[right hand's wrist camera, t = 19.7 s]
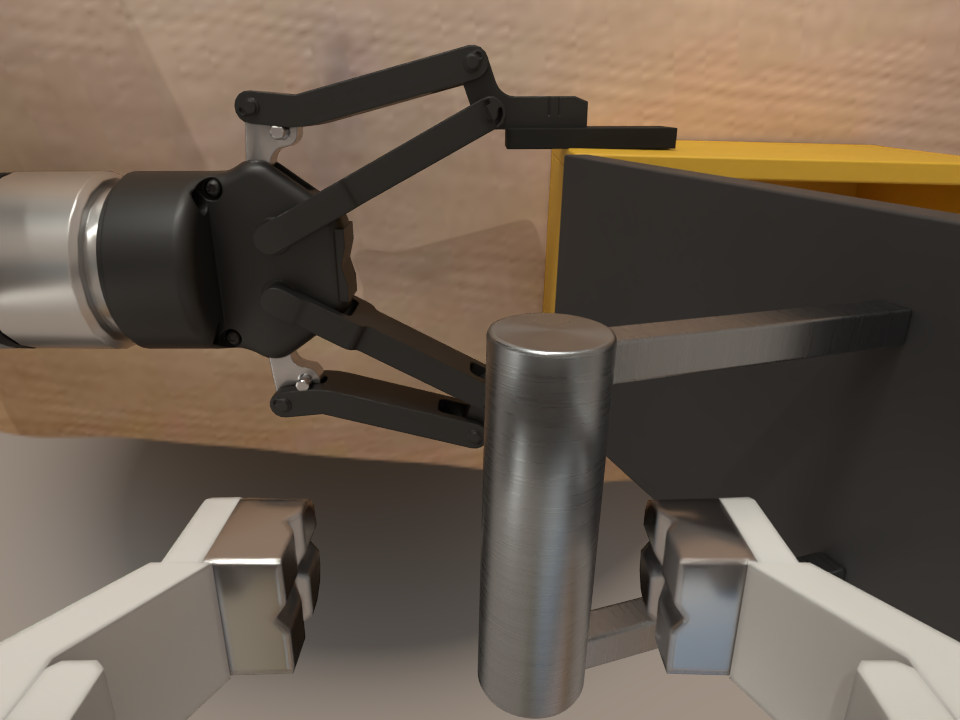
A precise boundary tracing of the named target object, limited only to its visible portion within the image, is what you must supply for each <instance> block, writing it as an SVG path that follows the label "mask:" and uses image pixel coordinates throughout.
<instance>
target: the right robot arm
mask: <svg viewBox="0 0 960 720" xmlns="http://www.w3.org/2000/svg"><path fill="white" fill-rule="evenodd" d="M315 527H316V517H315V510H314V505H313V503H312V501H311V499H286V498H241V497H223V498H210V499H206V500H205V501H204V502H203V503H202V505H201V506H200V508H199V509H198V510H197V512H196V513H195V515H194V516H193V517H192V519H191V520H190V522H189V523H188V525H187V526H186V527H185V529H184V530H183V532H182V533H181V534H180V536H179V537H178V539H177V540H176V542H175V543H174V544H173V546H172V547H171V549H170V550H169V552H168V553H167V554H166V556H165V557H164V559H163V560H162V561H161V562H160V563H148V564H147V565H145V566H143V567H141V568H139V569H137V570H135V571H133V572H131V573H130V574H128V575H126V576H124V577H122V578H120V579H118V580H116V581H115V582H113V583H111V584H109V585H107V586H105V587H103V588H101V589H99V590H98V591H96V592H94V593H92V594H90V595H88V596H86V597H84V598H82V599H81V600H79V601H77V602H75V603H73V604H71V605H69V606H67V607H65V608H64V609H62V610H60V611H58V612H56V613H54V614H52V615H50V616H49V617H47V618H45V619H43V620H41V621H39V622H37V623H35V624H33V625H32V626H30V627H28V628H26V629H24V630H22V631H20V632H18V633H17V634H15V635H13V636H11V637H9V638H7V639H5V640H3V641H1V642H0V720H187V719H188V718H189V717H190V716H191V715H192V714H193V713H194V712H195V711H196V710H197V709H198V708H200V707H201V706H202V705H203V704H204V703H205V702H206V701H207V700H208V699H209V698H210V697H211V696H212V695H214V694H215V693H216V692H217V691H218V690H219V689H220V688H221V687H222V686H223V685H224V684H225V683H226V682H227V681H229V680H230V675H257V674H292V673H294V670H295V667H296V664H297V661H298V658H299V655H300V652H301V649H302V646H303V643H304V640H305V629H304V621H305V620H307V619H308V618H309V617H310V616H312V615H313V612H314V609H315V606H316V602H317V598H318V591H319V584H320V557H319V550H318V549H317V547H316V546H315V545H314V544H313V543H312V542H311V541H310V540H311V538H312V535H313V532H314V530H315ZM644 527H645V530H646V532H647V535H648V538H649V540H650V541H649V542H648V543H647V544H646V545H645V546H644V548H643V549H642V550H641V559H640V584H641V593H642V598H643V603H644V606H645V609H646V612H647V615H648V616H650V617H651V618H652V619H653V620H655V621H656V629H655V640H656V643H657V646H658V649H659V652H660V655H661V658H662V660H663V664H664V666H665V669H666V672H667V674H701V675H730V677H729V678H730V679H731V680H732V681H733V682H734V683H735V684H736V685H737V686H738V687H739V688H740V689H742V690H743V691H744V692H745V693H746V694H747V695H748V696H749V697H750V698H751V699H752V700H753V701H754V702H755V703H756V704H758V705H759V706H760V707H761V708H762V709H763V710H764V711H765V712H766V713H767V714H768V715H769V716H770V717H771V718H773V719H774V720H960V642H958V641H956V640H954V639H952V638H951V637H949V636H947V635H945V634H943V633H941V632H939V631H937V630H936V629H934V628H932V627H930V626H928V625H926V624H924V623H922V622H921V621H919V620H917V619H915V618H913V617H911V616H909V615H907V614H906V613H904V612H902V611H900V610H898V609H896V608H894V607H892V606H891V605H889V604H887V603H885V602H883V601H881V600H879V599H877V598H876V597H874V596H872V595H870V594H868V593H866V592H864V591H862V590H860V589H859V588H857V587H855V586H853V585H851V584H849V583H847V582H845V581H844V580H842V579H840V578H838V577H836V576H834V575H832V574H830V573H829V572H827V571H825V570H823V569H821V568H819V567H817V566H815V565H814V564H812V563H800V562H799V561H798V560H797V559H796V557H795V556H794V554H793V553H792V552H791V550H790V549H789V547H788V546H787V545H786V543H785V542H784V540H783V539H782V538H781V536H780V535H779V533H778V532H777V531H776V529H775V528H774V526H773V525H772V523H771V522H770V521H769V519H768V518H767V516H766V515H765V514H764V512H763V511H762V509H761V508H760V507H759V505H758V504H757V502H756V501H755V500H754V499H752V498H750V497H734V498H707V499H667V500H648V502H647V505H646V509H645V517H644Z"/></svg>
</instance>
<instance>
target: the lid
mask: <svg viewBox="0 0 960 720" xmlns="http://www.w3.org/2000/svg"><path fill="white" fill-rule="evenodd" d="M606 456H607V457H608V458H609V459H610V460H611V461H612V462H613V463H614V464H615V465H617V466H618V467H619V468H620V469H621V470H622V471H623V472H624V473H625V474H627V475H628V476H629V477H630V478H631V479H632V480H633V481H634V482H635V483H636V484H638V485H639V486H640V487H641V488H642V489H643V490H644V491H645V492H646V493H647V494H649V495H650V496H651V497H652V498H653V499H654V500H667V499H707V498H734V497H750V498H752V499H754V500H755V501H756V502H757V504H758V505H759V507H760V508H761V509H762V511H763V512H764V514H765V515H766V516H767V518H768V519H769V521H770V522H771V523H772V525H773V526H774V528H775V529H776V531H777V532H778V533H779V535H780V536H781V538H782V539H783V540H784V542H785V543H786V545H787V546H788V547H789V549H790V550H791V552H792V553H793V554H794V556H795V557H796V559H797V560H798V561H799V562H800V563H812V564H814V565H815V566H817V567H819V568H821V569H823V570H825V571H827V572H829V573H830V574H832V575H834V576H836V577H838V578H840V579H842V580H844V581H845V582H847V583H849V584H851V585H853V586H855V587H857V588H859V589H860V590H862V591H864V592H866V593H868V594H870V595H872V596H874V597H876V598H877V599H879V600H881V601H883V602H885V603H887V604H889V605H891V606H892V607H894V608H896V609H898V610H900V611H902V612H904V613H906V614H907V615H909V616H911V617H913V618H915V619H917V620H919V621H921V622H922V623H924V624H926V625H928V626H930V627H932V628H934V629H936V630H937V631H939V632H941V633H943V634H945V635H947V636H949V637H951V638H952V639H954V640H956V641H958V642H960V214H957V213H951V212H945V211H938V210H932V209H926V208H920V207H913V206H907V205H901V204H894V203H888V202H882V201H876V200H869V199H863V198H857V197H851V196H844V195H838V194H832V193H826V192H819V191H813V190H807V189H801V188H794V187H788V186H782V185H775V184H769V183H763V182H757V181H750V180H744V179H738V178H732V177H725V176H719V175H713V174H707V173H700V172H694V171H688V170H682V169H675V168H669V167H663V166H656V165H650V164H644V163H638V162H631V161H625V160H619V159H613V158H606V157H600V156H594V155H588V154H574V155H565V156H564V170H563V186H562V202H561V218H560V234H559V250H558V266H557V282H556V297H555V313H529V314H520V315H514V316H510V317H506V318H503V319H500V320H498V321H496V322H494V323H493V324H492V325H491V326H490V327H489V329H488V331H487V345H486V382H485V420H484V457H483V496H482V533H481V570H480V608H479V646H478V678H479V682H480V685H481V687H482V689H483V691H484V693H485V694H486V695H487V697H488V698H489V699H490V700H491V701H492V702H493V703H494V704H495V705H496V706H498V707H499V708H500V709H502V710H504V711H506V712H508V713H510V714H513V715H516V716H519V717H524V718H533V719H534V718H547V717H551V716H554V715H557V714H560V713H561V712H563V711H565V710H566V709H568V708H569V707H570V706H571V705H572V704H573V703H574V702H575V701H576V700H577V698H578V697H579V695H580V693H581V691H582V688H583V684H584V674H585V669H587V668H591V667H594V666H598V665H601V664H605V663H608V662H612V661H615V660H619V659H622V658H625V657H629V656H633V655H636V654H639V653H643V652H646V651H650V650H653V649H657V648H658V646H657V643H656V640H655V629H656V621H655V620H653V619H652V618H651V617H650V616H648V615H647V612H646V609H645V606H644V603H643V598H642V597H641V598H637V599H633V600H629V601H625V602H621V603H617V604H614V605H610V606H606V607H602V608H598V609H594V610H591V603H592V593H593V583H594V572H595V562H596V552H597V542H598V532H599V522H600V511H601V501H602V491H603V481H604V471H605V461H606Z"/></svg>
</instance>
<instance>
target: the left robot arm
mask: <svg viewBox="0 0 960 720" xmlns="http://www.w3.org/2000/svg"><path fill="white" fill-rule="evenodd" d="M462 85H464V88H465V91H466V94H467V97H468V99H469V102H470V106H468V107H467V108H465V109H463V110H461V111H460V112H458V113H456V114H454V115H453V116H451V117H449V118H448V119H446V120H444V121H442V122H441V123H439V124H437V125H435V126H434V127H432V128H430V129H428V130H427V131H425V132H423V133H421V134H420V135H418V136H416V137H414V138H413V139H411V140H409V141H408V142H406V143H404V144H402V145H401V146H399V147H397V148H395V149H394V150H392V151H390V152H388V153H387V154H385V155H383V156H381V157H380V158H378V159H376V160H375V161H373V162H371V163H369V164H368V165H366V166H364V167H362V168H361V169H359V170H357V171H355V172H354V173H352V174H350V175H348V176H347V177H345V178H343V179H341V180H340V181H338V182H336V183H334V184H333V185H331V186H329V187H327V188H326V189H324V190H322V191H318V190H317V189H316V188H314V187H313V186H311V185H310V184H308V183H307V182H305V181H304V180H303V179H301V178H300V177H298V176H297V175H295V174H294V173H293V172H291V171H290V170H288V169H287V168H285V167H284V166H283V165H281V164H280V163H278V162H277V155H278V153H279V151H280V150H281V149H282V148H284V147H287V146H291V145H295V144H297V143H298V142H299V141H300V140H301V138H302V134H303V127H304V126H313V125H320V124H325V123H330V122H333V121H337V120H340V119H344V118H348V117H351V116H355V115H358V114H362V113H365V112H369V111H373V110H376V109H380V108H383V107H387V106H390V105H394V104H398V103H401V102H405V101H408V100H412V99H415V98H419V97H423V96H426V95H430V94H433V93H437V92H440V91H444V90H448V89H451V88H455V87H458V86H462ZM587 109H588V102H587V101H585V100H583V99H580V98H578V97H576V96H509V95H507V94H505V93H503V92H502V91H501V90H500V89H499V87H498V86H497V84H496V81H495V78H494V75H493V72H492V69H491V66H490V63H489V60H488V57H487V55H486V52H485V51H484V50H483V49H482V48H481V47H479V46H476V45H468V46H464V47H461V48H457V49H454V50H450V51H447V52H443V53H440V54H436V55H433V56H429V57H426V58H422V59H419V60H415V61H412V62H408V63H405V64H401V65H398V66H394V67H391V68H387V69H384V70H380V71H377V72H373V73H370V74H366V75H363V76H359V77H356V78H352V79H349V80H345V81H342V82H338V83H335V84H331V85H328V86H324V87H321V88H317V89H314V90H310V91H307V92H303V93H299V94H286V93H276V92H265V91H243V92H242V93H240V94H239V95H238V96H237V98H236V100H235V110H236V113H237V115H238V116H239V118H240V119H241V120H243V121H244V122H245V133H246V161H245V162H242V163H241V164H239V165H238V166H236V167H234V168H233V169H231V170H227V171H135V172H131V173H128V174H126V175H125V176H121V175H119V174H116V173H114V172H112V171H72V172H13V173H0V348H86V349H126V348H129V347H131V346H133V345H136V344H137V345H139V346H141V347H143V348H149V349H218V348H245V349H249V350H252V351H255V352H257V353H259V354H261V355H263V356H265V357H268V358H269V360H270V365H271V369H272V374H273V378H274V383H275V387H276V393H275V394H274V395H273V397H272V398H271V401H270V407H271V409H272V411H273V412H274V413H275V414H276V415H278V416H280V417H295V416H306V415H317V414H325V415H329V416H334V417H338V418H342V419H347V420H351V421H355V422H360V423H364V424H369V425H373V426H377V427H382V428H386V429H390V430H395V431H399V432H403V433H408V434H412V435H416V436H421V437H425V438H430V439H434V440H438V441H443V442H447V443H451V444H456V445H460V446H464V447H469V448H479V447H482V446H483V445H484V420H485V382H486V365H485V364H483V363H481V362H479V361H477V360H475V359H473V358H471V357H469V356H467V355H465V354H463V353H461V352H459V351H457V350H455V349H453V348H451V347H449V346H447V345H445V344H443V343H441V342H439V341H437V340H435V339H433V338H431V337H429V336H427V335H425V334H423V333H421V332H419V331H417V330H415V329H413V328H411V327H409V326H407V325H405V324H403V323H401V322H399V321H397V320H395V319H393V318H391V317H389V316H387V315H385V314H383V313H381V312H379V311H378V310H376V309H375V307H374V306H373V305H372V304H370V303H368V302H367V301H365V300H363V299H361V298H359V297H357V296H355V295H354V294H355V292H356V291H357V283H356V273H355V270H354V267H353V264H352V261H351V258H350V254H351V249H352V244H353V239H354V238H353V223H352V221H349V220H348V217H347V215H346V213H348V212H350V211H351V210H353V209H355V208H356V207H358V206H360V205H361V204H363V203H365V202H367V201H368V200H370V199H372V198H374V197H375V196H377V195H379V194H381V193H383V192H384V191H386V190H388V189H390V188H391V187H393V186H395V185H397V184H398V183H400V182H402V181H404V180H406V179H407V178H409V177H411V176H413V175H414V174H416V173H418V172H420V171H421V170H423V169H425V168H427V167H429V166H430V165H432V164H434V163H436V162H437V161H439V160H441V159H443V158H445V157H446V156H448V155H450V154H452V153H453V152H455V151H457V150H459V149H460V148H462V147H464V146H466V145H468V144H469V143H471V142H473V141H475V140H476V139H478V138H480V137H482V136H483V135H485V134H487V133H489V132H491V131H492V130H494V129H505V146H506V148H507V149H569V148H581V149H675V147H676V137H677V128H672V127H664V126H587ZM316 335H318V336H320V337H322V338H324V339H326V340H328V341H330V342H332V343H334V344H336V345H338V346H340V347H342V348H345V349H348V350H358V351H361V352H363V353H365V354H367V355H369V356H371V357H373V358H375V359H377V360H379V361H381V362H383V363H385V364H387V365H390V366H392V367H394V368H396V369H398V370H400V371H402V372H404V373H406V374H408V375H410V376H412V377H414V378H416V379H418V380H420V381H422V382H424V383H427V384H429V385H431V386H433V387H435V388H437V389H439V390H441V391H443V392H445V393H447V394H449V395H451V396H453V397H450V396H445V395H441V394H437V393H433V392H428V391H424V390H420V389H416V388H411V387H407V386H403V385H399V384H394V383H390V382H386V381H382V380H377V379H373V378H369V377H364V376H360V375H356V374H352V373H347V372H342V371H332V370H323V368H322V367H321V365H320V364H319V363H318V362H314V361H309V360H305V359H303V358H301V357H300V356H299V355H298V353H297V351H296V350H297V349H298V348H300V347H301V346H302V345H304V344H305V343H306V342H308V341H309V340H310V339H312V338H313V337H315V336H316ZM454 397H455V398H454Z"/></svg>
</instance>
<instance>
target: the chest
mask: <svg viewBox="0 0 960 720" xmlns="http://www.w3.org/2000/svg"><path fill="white" fill-rule="evenodd" d="M574 154H588V155H594V156H600V157H606V158H613V159H619V160H625V161H631V162H638V163H644V164H650V165H656V166H663V167H669V168H675V169H682V170H688V171H694V172H700V173H707V174H713V175H719V176H725V177H732V178H738V179H744V180H750V181H757V182H763V183H769V184H775V185H782V186H788V187H794V188H801V189H807V190H813V191H819V192H826V193H832V194H838V195H844V196H851V197H857V198H863V199H869V200H876V201H882V202H888V203H894V204H901V205H907V206H913V207H920V208H926V209H932V210H938V211H945V212H951V213H957V214H960V156H957V155H948V154H940V153H932V152H924V151H915V150H907V149H899V148H891V147H884V146H877V145H852V144H811V143H770V142H729V141H687V140H676V147H675V149H581V148H569V149H552V156H551V174H550V191H549V209H548V227H547V244H546V262H545V280H544V298H543V313H555V297H556V282H557V266H558V250H559V234H560V218H561V202H562V186H563V170H564V156H565V155H574Z"/></svg>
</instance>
